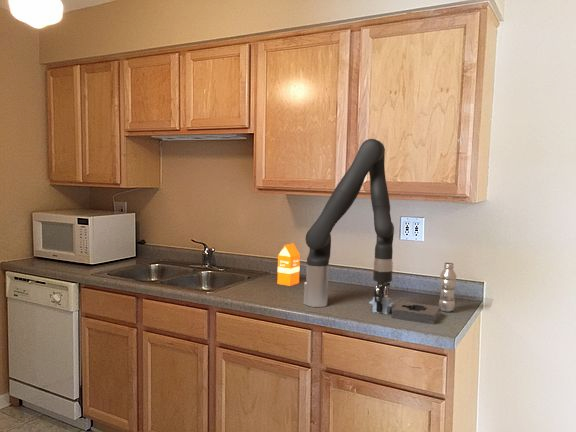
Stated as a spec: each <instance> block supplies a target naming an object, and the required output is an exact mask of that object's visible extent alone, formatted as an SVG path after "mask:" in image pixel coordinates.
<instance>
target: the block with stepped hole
mask: <svg viewBox="0 0 576 432" xmlns="http://www.w3.org/2000/svg"><path fill="white" fill-rule="evenodd" d="M441 311H442V310H441V307H439V305H430V304H424V303H422V304H421V303H415V302H410V301H409V302H408V301H400V302H399V303H397V304H396V305H395V306H393V308H392V309H391V318H392V319H396V320H404V321H409V322H415V323H416V322H417V323H421V324H423V323H424V324H428V325H435V324H436V321H438V319H439V318H440V317H441V315H442V314H441Z"/></svg>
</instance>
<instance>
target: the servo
mask: <svg viewBox="0 0 576 432" xmlns="http://www.w3.org/2000/svg"><path fill="white" fill-rule="evenodd" d="M378 299H379V298H378ZM368 304H370V310H372V313H375V312H377V311H376V308H377V303H376V302H375V296H373V297H372V300H370V301H369V303H368ZM371 305H372V306H371ZM394 305H395V302H391V297H388V295H385V297H384V298H383V304H382V312H377V313H376V314H382V313H383V314H384V315H389V313H391V307H394Z"/></svg>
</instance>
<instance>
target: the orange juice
mask: <svg viewBox="0 0 576 432" xmlns="http://www.w3.org/2000/svg"><path fill="white" fill-rule="evenodd" d="M300 257H301V255H300V252H299V251H298V249H297V248H296V245H295V243H293V242H292V243H288V244H284V245H283V247H282V248H281V250H280V252H279V253H278V254H277V283H276V284H277V285H281V286H282V285H283V286H287V287H288V286H289V287H291V286H294V285H297V284H299V283H300V267H301V266H300V259H301V258H300Z"/></svg>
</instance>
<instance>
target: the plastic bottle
mask: <svg viewBox="0 0 576 432" xmlns="http://www.w3.org/2000/svg"><path fill="white" fill-rule="evenodd" d="M443 265H444V266H443V268H444V269H443V270H442V271H441V273H440V276H439V277H440V296H439V301H438V306H439V307H441V311H442V312H453V311H454V310H455V308H456V302H455V286H456V281H457V274H456V272H455V271H454V265H455V264H454V263H453V262H444V264H443Z"/></svg>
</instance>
